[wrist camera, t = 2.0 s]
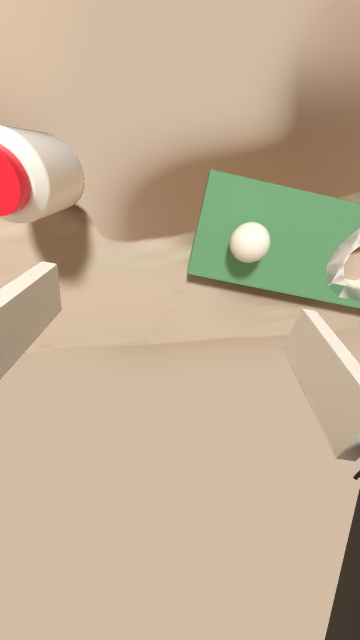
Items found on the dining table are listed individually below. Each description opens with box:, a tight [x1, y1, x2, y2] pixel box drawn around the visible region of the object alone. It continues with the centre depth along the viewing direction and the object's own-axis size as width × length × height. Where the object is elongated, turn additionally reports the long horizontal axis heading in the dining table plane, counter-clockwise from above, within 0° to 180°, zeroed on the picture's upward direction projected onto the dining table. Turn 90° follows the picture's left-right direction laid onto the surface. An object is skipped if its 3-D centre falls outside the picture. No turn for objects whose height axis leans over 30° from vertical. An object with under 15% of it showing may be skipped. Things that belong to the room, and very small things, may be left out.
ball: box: [230, 222, 270, 263], centre depth 28 cm, size 4×4×4 cm
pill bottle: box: [0, 125, 84, 223], centre depth 25 cm, size 8×8×11 cm
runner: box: [187, 169, 360, 308], centre depth 31 cm, size 12×28×2 cm, turn 79°
